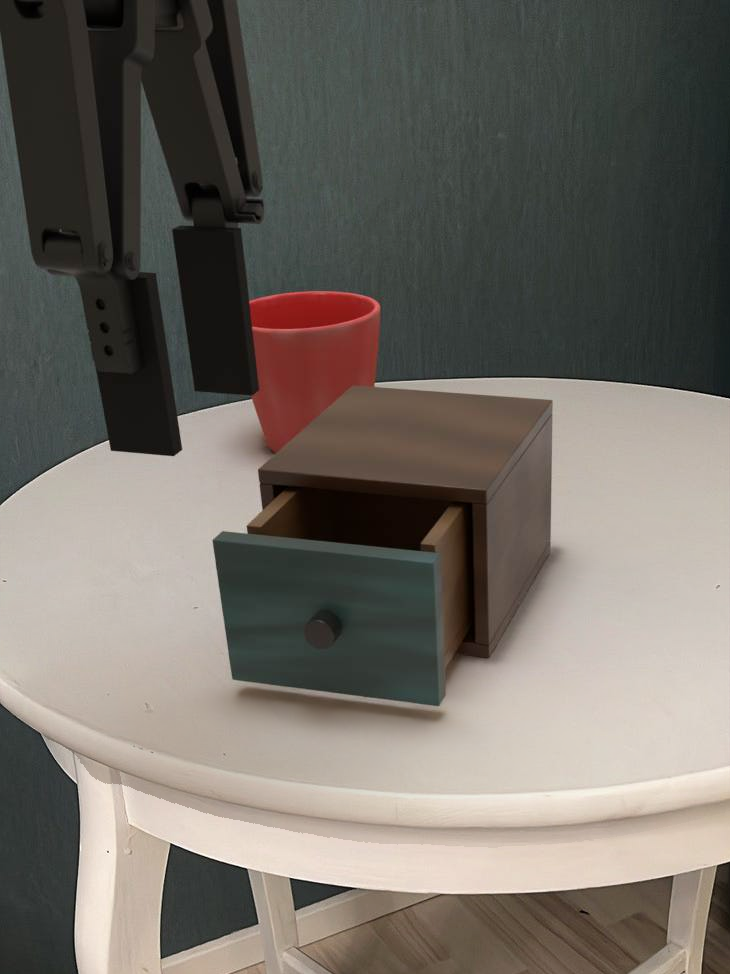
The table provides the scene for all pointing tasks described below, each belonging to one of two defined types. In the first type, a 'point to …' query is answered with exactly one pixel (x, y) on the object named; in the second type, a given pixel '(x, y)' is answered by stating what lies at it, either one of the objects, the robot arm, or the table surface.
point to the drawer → (349, 593)
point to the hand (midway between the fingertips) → (188, 418)
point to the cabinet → (441, 477)
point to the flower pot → (310, 356)
